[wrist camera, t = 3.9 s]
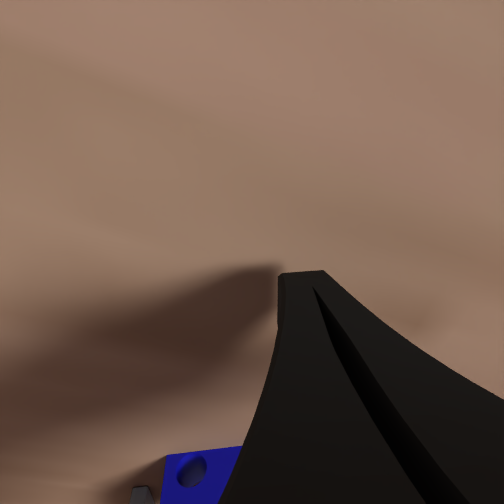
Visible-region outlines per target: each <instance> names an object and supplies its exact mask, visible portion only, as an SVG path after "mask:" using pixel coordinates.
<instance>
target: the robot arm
mask: <svg viewBox="0 0 504 504" xmlns="http://www.w3.org/2000/svg"><path fill="white" fill-rule="evenodd" d="M277 324H278V331H277V336H276V342H275V347H274V351H273V355H272V359H271V363H270V367H269V371H268V374H267V378H266V381H265V384H264V388H263V391H262V394H261V397H260V400H259V403H258V406H257V409H256V412H255V415H254V417H253V420H252V423H251V425H250V428H249V431H248V433H247V436H246V438H245V441H244V443H243V446H242V448H241V450H240V453H239V455H238V458H237V460H236V463H235V465H234V468H233V470H232V473H231V475H230V477H229V479H228V482H227V484H226V486H225V488H224V491H223V493H222V495H221V497H220V499H219V501H218V503H217V504H504V400H503V399H502V398H500V397H498V396H496V395H495V394H493V393H491V392H489V391H487V390H486V389H484V388H482V387H480V386H479V385H477V384H475V383H473V382H472V381H470V380H468V379H467V378H465V377H463V376H462V375H460V374H458V373H457V372H455V371H453V370H452V369H450V368H449V367H447V366H446V365H444V364H442V363H441V362H439V361H438V360H436V359H435V358H433V357H432V356H430V355H429V354H427V353H425V352H424V351H422V350H421V349H420V348H418V347H417V346H415V345H414V344H412V343H411V342H410V341H408V340H407V339H405V338H404V337H403V336H401V335H400V334H399V333H397V332H396V331H395V330H393V329H392V328H391V327H389V326H388V325H387V324H385V323H384V322H383V321H382V320H380V319H379V318H378V317H377V316H375V315H374V314H373V313H372V312H370V311H369V310H368V309H367V308H366V307H364V306H363V305H362V304H361V303H360V302H359V301H357V300H356V299H355V298H354V297H353V296H352V295H351V294H349V293H348V292H347V291H346V290H345V289H344V288H343V287H342V286H340V285H339V284H338V283H337V282H336V281H335V280H334V279H333V278H332V277H331V276H329V275H328V274H327V273H326V272H325V271H324V270H319V271H305V272H292V273H282V274H280V275H279V276H278V312H277Z"/></svg>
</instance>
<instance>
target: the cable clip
mask: <svg viewBox="0 0 504 504" xmlns="http://www.w3.org/2000/svg"><path fill="white" fill-rule="evenodd" d="M241 448H242V446H236V447H228V448H220V449H212V450H204V451H195V452H187V453H179V454H171V455H167V458H166V465H165V472H164V479H163V486H162V493H161V500H160V504H217V503H218V501H219V499H220V497H221V495H222V493H223V491H224V488H225V486H226V484H227V482H228V479H229V477H230V475H231V473H232V470H233V468H234V465H235V463H236V460H237V458H238V455H239V453H240V450H241ZM198 482H200V483H199V484H197V485H196V486H194V487H192V486H193V485H195V484H196V483H198Z"/></svg>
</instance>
